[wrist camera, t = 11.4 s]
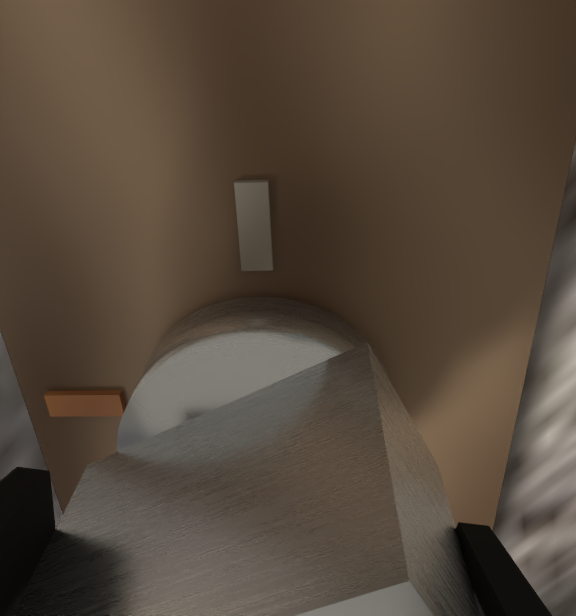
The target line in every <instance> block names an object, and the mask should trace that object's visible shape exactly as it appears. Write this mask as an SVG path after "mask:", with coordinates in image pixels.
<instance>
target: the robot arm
mask: <svg viewBox="0 0 576 616" xmlns="http://www.w3.org/2000/svg"><path fill="white" fill-rule="evenodd" d="M55 530H56V529H55V519H54V509H53V499H52V489H51V479H50V471H46V470H38V469H30V468H22V467H17V468H15V469H14V470H12V471H11V472H10V473H9V474H8V475H7V476H6V477H4V478H3V479H2V480H1V481H0V616H13V615H14V613H15V611H16V609H17V607H18V605H19V603H20V601H21V599H22V597H23V595H24V592H25V590H26V588H27V586H28V584H29V582H30V580H31V578H32V576H33V574H34V572H35V570H36V568H37V566H38V564H39V562H40V560H41V558H42V556H43V554H44V552H45V550H46V548H47V546H48V544H49V542H50V540H51V538H52V536H53V534H54V532H55ZM456 532H457V535H458V539H459V542H460V546H461V549H462V553H463V556H464V560H465V563H466V567H467V570H468V574H469V577H470V581H471V584H472V587H473V590H474V594H475V597H476V601H477V604H478V608H479V611H480V615H481V616H552V615H551V613H550V612H549V611H548V609H547V608H546V606H545V605H544V604H543V602H542V601H541V599H540V598H539V597H538V595H537V594H536V592H535V591H534V589H533V588H532V587H531V585H530V584H529V582H528V581H527V579H526V578H525V577H524V575H523V574H522V572H521V571H520V569H519V568H518V567H517V565H516V564H515V562H514V561H513V559H512V558H511V556H510V555H509V554H508V552H507V551H506V549H505V548H504V546H503V545H502V544H501V542H500V541H499V539H498V538H497V536H496V535H495V534H494V532H493V531H492V529H491V528H490V527H489V526H487V525H479V524H471V523H463V522H458V524H457V527H456Z"/></svg>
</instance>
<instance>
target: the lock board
mask: <svg viewBox="0 0 576 616" xmlns="http://www.w3.org/2000/svg"><path fill="white" fill-rule="evenodd" d="M575 141H576V0H0V330H1V333H2V336H3V339H4V342H5V345H6V348H7V351H8V354H9V357H10V360H11V363H12V366H13V368H14V371H15V374H16V377H17V380H18V383H19V386H20V389H21V392H22V395H23V398H24V401H25V404H26V407H27V410H28V413H29V415H30V418H31V421H32V424H33V427H34V430H35V433H36V436H37V439H38V442H39V445H40V448H41V451H42V454H43V457H44V459H45V462H46V465H47V468H48V471H50V477H51V480H52V483H53V486H54V489H55V492H56V495H57V498H58V501H59V504H60V506H61V509H62V512H63V514H64V511H65V509H66V507H67V505H68V503H69V501H70V499H71V497H72V495H73V493H74V491H75V489H76V487H77V485H78V483H79V481H80V479H81V477H82V475H83V473H84V471H85V469H86V467H87V465H88V464H90V463H93V462H95V461H97V460H99V459H102V458H104V457H106V456H109V455H111V454H113V453H115V452H117V437H118V429H119V425H120V422H121V418H122V415H123V413H124V411H125V409H126V407H127V405H128V402H129V400H130V398H131V396H132V394H133V392H134V390H135V388H136V385H137V383H138V381H139V379H140V377H141V375H142V373H143V370H144V368H145V366H146V364H147V362H148V360H149V358H150V355H151V353H152V351H153V350H154V348H155V347H156V345H157V344H158V343H159V341H160V340H161V339H162V338H163V336H164V335H165V334H166V333H167V332H168V331H169V330H170V329H171V328H172V327H174V326H175V325H176V324H177V323H179V322H180V321H181V320H182V319H184V318H186V317H187V316H189V315H191V314H193V313H194V312H196V311H198V310H200V309H203V308H205V307H208V306H210V305H212V304H216V303H220V302H223V301H227V300H231V299H238V298H245V297H276V298H285V299H290V300H295V301H300V302H304V303H307V304H310V305H313V306H316V307H319V308H321V309H323V310H325V311H327V312H329V313H331V314H334V315H335V316H337V317H339V318H340V319H342V320H343V321H345V322H346V323H348V324H349V325H351V326H352V327H353V328H354V329H355V330H357V331H358V332H359V333H360V334H361V335H362V336H363V337H364V338H365V339H366V340H367V341H368V342H369V343H370V344H371V345H372V347H373V348H374V350H375V351H376V353H377V354H378V356H379V357H380V359H381V361H382V363H383V365H384V367H385V369H386V371H387V374H388V378H389V380H390V382H391V384H392V386H393V387H394V389H395V391H396V393H397V394H398V396H399V398H400V400H401V401H402V403H403V405H404V406H405V408H406V410H407V412H408V413H409V415H410V417H411V419H412V420H413V422H414V424H415V426H416V427H417V429H418V431H419V433H420V434H421V436H422V438H423V439H424V441H425V443H426V445H427V446H428V448H429V450H430V452H431V453H432V455H433V457H434V459H435V460H436V462H437V464H438V467H439V470H440V474H441V477H442V481H443V484H444V488H445V491H446V495H447V499H448V502H449V506H450V509H451V513H452V516H453V520H454V523H455V527H457V524H458V522H463V523H471V524H479V525H487V526H489V527H490V528H491V529H492V531H493V526H494V521H495V517H496V512H497V507H498V503H499V498H500V493H501V489H502V484H503V479H504V474H505V470H506V465H507V460H508V456H509V451H510V446H511V442H512V437H513V432H514V427H515V423H516V418H517V413H518V409H519V404H520V399H521V394H522V390H523V385H524V380H525V376H526V371H527V366H528V362H529V357H530V352H531V347H532V343H533V338H534V333H535V329H536V324H537V319H538V315H539V310H540V305H541V300H542V296H543V291H544V286H545V282H546V277H547V272H548V267H549V263H550V258H551V253H552V249H553V244H554V239H555V235H556V230H557V225H558V220H559V216H560V211H561V206H562V202H563V197H564V192H565V188H566V183H567V178H568V173H569V169H570V164H571V159H572V155H573V150H574V145H575Z"/></svg>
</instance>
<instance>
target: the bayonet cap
mask: <svg viewBox="0 0 576 616" xmlns="http://www.w3.org/2000/svg"><path fill="white" fill-rule="evenodd" d="M13 616H481V615H480V611H479V608H478V604H477V601H476V597H475V594H474V590H473V587H472V584H471V581H470V577H469V574H468V570H467V567H466V563H465V560H464V556H463V553H462V549H461V546H460V542H459V539H458V535H457V532H456V527H455V523H454V520H453V516H452V513H451V509H450V506H449V502H448V499H447V495H446V491H445V488H444V484H443V481H442V477H441V474H440V470H439V467H438V464H437V462H436V460H435V459H434V457H433V455H432V453H431V452H430V450H429V448H428V446H427V445H426V443H425V441H424V439H423V438H422V436H421V434H420V433H419V431H418V429H417V427H416V426H415V424H414V422H413V420H412V419H411V417H410V415H409V413H408V412H407V410H406V408H405V406H404V405H403V403H402V401H401V400H400V398H399V396H398V394H397V393H396V391H395V389H394V387H393V386H392V384H391V382H390V380H389V378H388V374H387V371H386V369H385V367H384V365H383V363H382V361H381V359H380V357H379V356H378V354H377V353H376V351H375V350H374V348H373V347H372V345H371V344H370V343H369V342H368V341H367V340H366V339H365V338H364V337H363V336H362V335H361V334H360V333H359V332H358V331H357V330H355V329H354V328H353V327H352V326H351V325H349V324H348V323H346V322H345V321H343V320H342V319H340V318H339V317H337V316H335V315H334V314H331V313H329V312H327V311H325V310H323V309H321V308H319V307H316V306H313V305H310V304H307V303H304V302H300V301H295V300H290V299H285V298H276V297H245V298H238V299H231V300H227V301H223V302H220V303H216V304H212V305H210V306H208V307H205V308H203V309H200V310H198V311H196V312H194V313H193V314H191V315H189V316H187V317H186V318H184V319H182V320H181V321H180V322H179V323H177V324H176V325H175V326H174V327H172V328H171V329H170V330H169V331H168V332H167V333H166V334H165V335H164V336H163V338H162V339H161V340H160V341H159V343H158V344H157V345H156V347H155V348H154V350H153V351H152V353H151V355H150V358H149V360H148V362H147V364H146V366H145V368H144V370H143V373H142V375H141V377H140V379H139V381H138V383H137V385H136V388H135V390H134V392H133V394H132V396H131V398H130V400H129V402H128V405H127V407H126V409H125V411H124V413H123V415H122V418H121V422H120V425H119V429H118V437H117V452H115V453H113V454H111V455H109V456H106V457H104V458H102V459H99V460H97V461H95V462H93V463H90V464H88V465H87V467H86V469H85V471H84V473H83V475H82V477H81V479H80V481H79V483H78V485H77V487H76V489H75V491H74V493H73V495H72V497H71V499H70V501H69V503H68V505H67V507H66V509H65V511H64V514H63V516H62V518H61V520H60V522H59V524H58V526H57V528H56V530H55V532H54V534H53V536H52V538H51V540H50V542H49V544H48V546H47V548H46V550H45V552H44V554H43V556H42V558H41V560H40V562H39V564H38V566H37V568H36V570H35V572H34V574H33V576H32V578H31V580H30V582H29V584H28V586H27V588H26V590H25V592H24V595H23V597H22V599H21V601H20V603H19V605H18V607H17V609H16V611H15V613H14V615H13Z"/></svg>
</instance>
